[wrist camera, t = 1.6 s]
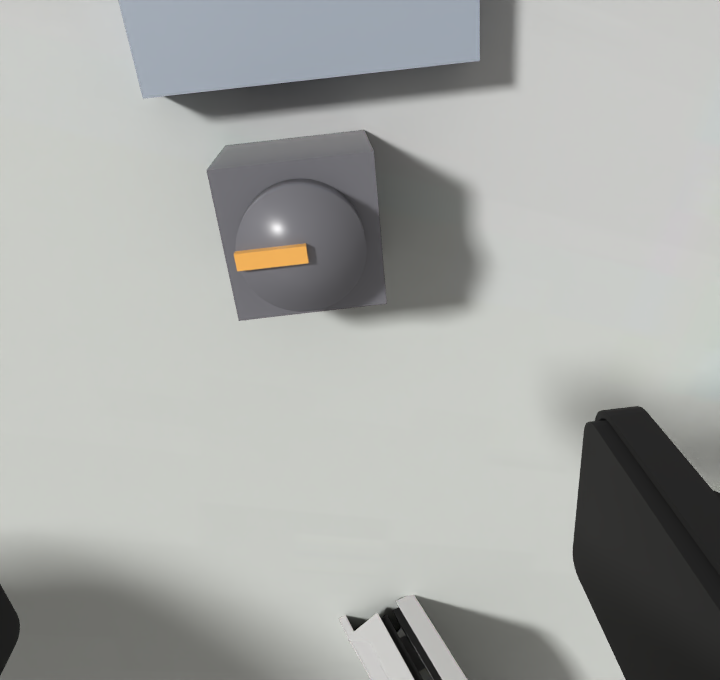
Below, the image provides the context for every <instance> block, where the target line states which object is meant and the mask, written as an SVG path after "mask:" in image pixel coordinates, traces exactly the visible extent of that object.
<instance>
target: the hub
mask: <svg viewBox="0 0 720 680" xmlns="http://www.w3.org/2000/svg"><path fill="white" fill-rule="evenodd" d="M118 1H119V5H120V9H121V13H122V17H123V21H124V25H125V29H126V33H127V37H128V41H129V45H130V49H131V53H132V57H133V61H134V65H135V69H136V73H137V77H138V81H139V85H140V89H141V93H142V97H143V98H152V97H161V96H170V95H179V94H188V93H197V92H206V91H215V90H223V89H232V88H241V87H250V86H259V85H268V84H277V83H286V82H295V81H304V80H313V79H322V78H331V77H340V76H349V75H357V74H366V73H375V72H384V71H393V70H402V69H411V68H420V67H429V66H438V65H447V64H456V63H465V62H474V61H480V0H118Z"/></svg>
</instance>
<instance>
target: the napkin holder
mask: <svg viewBox="0 0 720 680" xmlns="http://www.w3.org/2000/svg"><path fill="white" fill-rule="evenodd" d="M396 603H397V605H398V608H397V609H395V610H394V611H393V612H394V614H395V616H396V618H397V620H398V622H399V624H400V626H401V628H400V629H399V631H398V632H396V630H395V629H394V627H393V625H392V623H391V622H390V620H389V618H388V616H387V615H386V616H384V617H383V618H380V616H379V615H378V613H376V614H375V615H374V616H372V617H371V618H370V619H369V620H368V621H366V622H365V623H364V624H363V625H361V626H360V627H359V628H358V629H357V630H355V631H354V629H353V628H352V626H351V624H350V622H349V620H348V618H347V617H346V615H345V616H342V617H340V618H339V621H340V623H341V625H342V627H343V629H344V631H345V633H346V635H347V637H348V639H349V641H350V643H351V645H352V647H353V648H354V650H355V652H356V654H357V656H358V657H359V659H360V661H361V663H362V665H363V666H364V668H365V670H366V672H367V674H368V675H369V677H370V679H371V680H468V679H467V678H466V676H465V675H464V673H463V672H462V670H461V668H460V667H459V665H458V664H457V662H456V660H455V659H454V657H453V656H452V654H451V653H450V651H449V649H448V648H447V646H446V645H445V643H444V641H443V640H442V638H441V637H440V635H439V633H438V632H437V630H436V629H435V627H434V626H433V624H432V622H431V621H430V619H429V618H428V616H427V614H426V613H425V611H424V610H423V608H422V607H421V605H420V603H419V602H418V600H417V599H416V597H415V595H409V596H405V597H403V598H401V599H398V600H396Z"/></svg>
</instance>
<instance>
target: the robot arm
mask: <svg viewBox="0 0 720 680" xmlns="http://www.w3.org/2000/svg"><path fill="white" fill-rule="evenodd" d="M573 561H574V566H575V569H576V573H577V575H578V578H579V580H580V582H581V584H582V586H583V589H584V591H585V593H586V595H587V597H588V599H589V601H590V604H591V606H592V608H593V610H594V612H595V614H596V617H597V619H598V621H599V623H600V625H601V627H602V629H603V632H604V634H605V636H606V638H607V640H608V642H609V644H610V647H611V649H612V651H613V653H614V655H615V657H616V660H617V662H618V664H619V666H620V668H621V670H622V672H623V675H624V677H625V679H626V680H720V493H718V492H716V491H713V490H712V489H711V488H710V487H709V485H708V484H707V483H706V482H705V481H704V479H703V478H702V477H701V476H700V475H699V474H698V472H697V471H696V470H695V469H694V468H693V466H692V465H691V464H690V463H689V462H688V460H687V459H686V458H685V457H684V456H683V454H682V453H681V452H680V451H679V450H678V449H677V447H676V446H675V445H674V444H673V443H672V441H671V440H670V439H669V438H668V437H667V435H666V434H665V433H664V432H663V431H662V429H661V428H660V427H659V426H658V425H657V423H656V422H655V421H654V420H653V419H652V418H651V416H650V415H649V414H648V413H647V412H646V411H645V410H644V409H643V408H642V407H638V406H635V407H627V408H618V409H610V410H601V411H599V412H598V414H597V415H596V419H595V421H593V422H588V423H586V425H585V428H584V437H583V447H582V458H581V468H580V479H579V489H578V500H577V510H576V521H575V531H574V542H573ZM19 630H20V623H19V618H18V615H17V613H16V612H15V610H14V608H13V606H12V604H11V603H10V601H9V599H8V597H7V595H6V594H5V592H4V590H3V588H2V586H1V585H0V675H1V673H2V671H3V669H4V667H5V665H6V663H7V661H8V659H9V657H10V655H11V653H12V651H13V649H14V647H15V645H16V642H17V640H18V636H19Z"/></svg>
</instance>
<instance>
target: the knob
mask: <svg viewBox="0 0 720 680" xmlns="http://www.w3.org/2000/svg"><path fill="white" fill-rule="evenodd" d="M207 175H208V179H209V184H210V189H211V193H212V198H213V203H214V207H215V212H216V217H217V221H218V226H219V230H220V235H221V240H222V244H223V249H224V254H225V258H226V263H227V268H228V272H229V277H230V282H231V286H232V291H233V296H234V300H235V305H236V309H237V314H238V319H239V321H241V320H249V319H258V318H267V317H275V316H284V315H292V314H301V313H310V312H318V311H327V310H336V309H344V308H353V307H361V306H370V305H379V304H387V301H386V289H385V277H384V265H383V254H382V242H381V230H380V218H379V206H378V194H377V183H376V171H375V159H374V150H373V148H372V146H371V144H370V142H369V139H368V137H367V135H366V133H365V130H359V131H350V132H342V133H333V134H324V135H315V136H306V137H297V138H288V139H280V140H271V141H262V142H253V143H244V144H235V145H226V146H225V147H224V148H223V149H222V151H221V152H220V153H219V155H218V156H217V157H216V158H215V160H214V161H213V162H212V164H211V165H210V166H209V168H208V169H207Z"/></svg>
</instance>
